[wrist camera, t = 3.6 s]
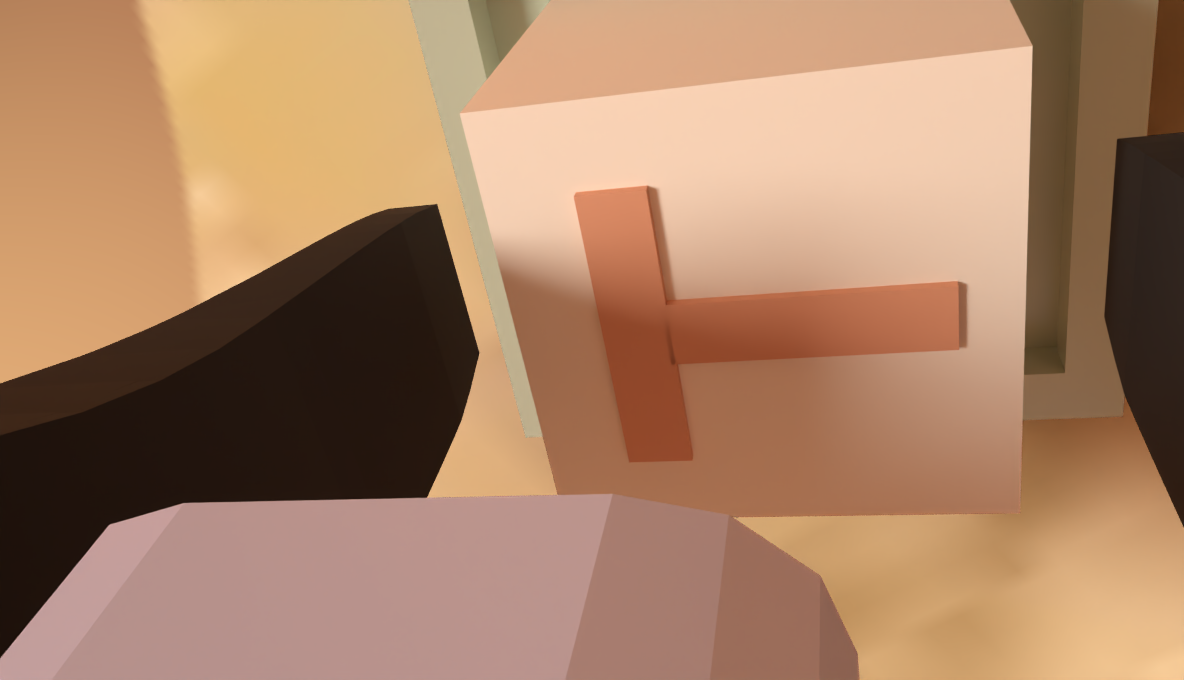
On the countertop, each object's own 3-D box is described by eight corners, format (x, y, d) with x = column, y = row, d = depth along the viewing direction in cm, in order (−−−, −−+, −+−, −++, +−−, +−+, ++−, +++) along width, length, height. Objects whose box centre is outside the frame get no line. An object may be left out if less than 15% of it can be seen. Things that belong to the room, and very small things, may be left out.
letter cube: (969, 280, 15) (1020, 519, 11) (631, 303, 17) (562, 525, 12) (968, -82, 13) (1034, 50, 9) (568, -23, 14) (457, 117, 10)
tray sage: (1107, 377, 16) (1122, 416, 15) (539, 402, 18) (525, 437, 18) (1159, -309, 12) (1185, -306, 11) (395, -163, 14) (368, -152, 13)
